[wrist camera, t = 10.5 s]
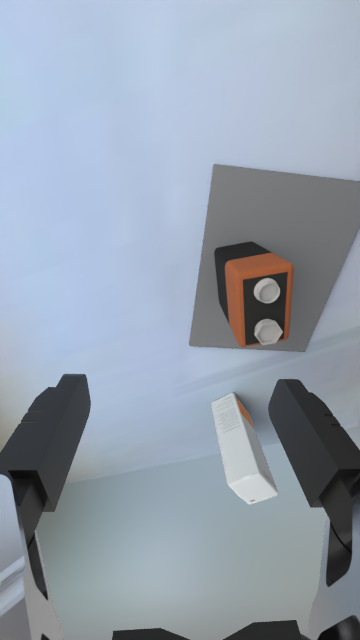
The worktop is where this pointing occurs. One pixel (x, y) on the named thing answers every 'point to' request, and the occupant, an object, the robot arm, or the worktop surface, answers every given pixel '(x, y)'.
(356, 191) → the rubber mat
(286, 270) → the battery
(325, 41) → the worktop surface
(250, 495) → the skincare box
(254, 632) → the robot arm
